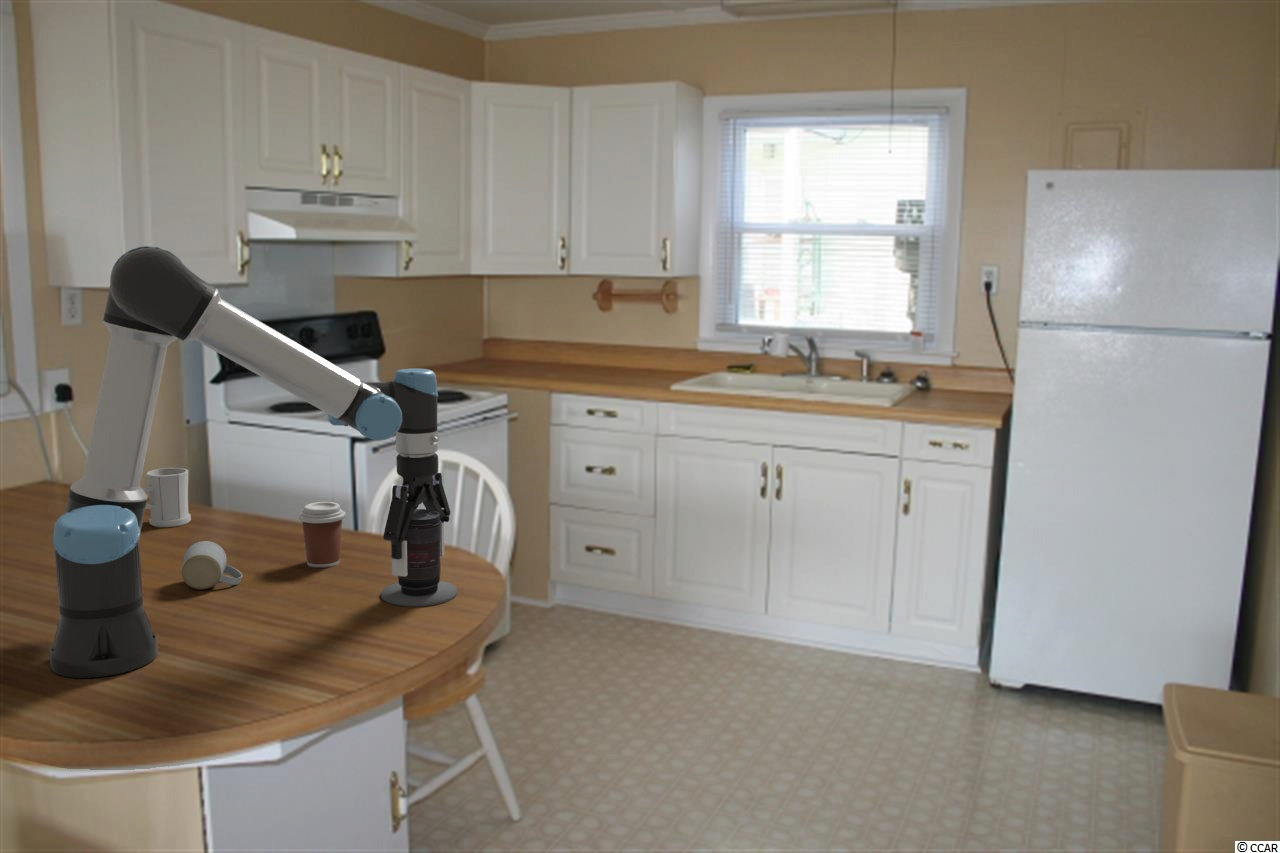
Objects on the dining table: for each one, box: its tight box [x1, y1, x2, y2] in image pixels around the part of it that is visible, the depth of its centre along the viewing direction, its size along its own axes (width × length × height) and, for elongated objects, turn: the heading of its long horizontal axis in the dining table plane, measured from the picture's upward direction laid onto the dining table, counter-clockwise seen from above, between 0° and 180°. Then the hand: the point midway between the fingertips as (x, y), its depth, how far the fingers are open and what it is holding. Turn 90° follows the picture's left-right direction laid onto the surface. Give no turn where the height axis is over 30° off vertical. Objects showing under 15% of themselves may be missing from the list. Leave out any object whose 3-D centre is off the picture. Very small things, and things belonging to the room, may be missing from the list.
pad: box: [380, 580, 458, 608], centre depth 204 cm, size 14×14×1 cm
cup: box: [141, 467, 192, 528], centre depth 248 cm, size 10×9×12 cm
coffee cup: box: [298, 501, 346, 568], centre depth 221 cm, size 9×9×12 cm
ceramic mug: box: [180, 540, 243, 590], centre depth 207 cm, size 11×8×8 cm
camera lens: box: [397, 508, 442, 596], centre depth 202 cm, size 8×8×15 cm
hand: (418, 565), depth 203 cm, fingers open, 13 cm apart
